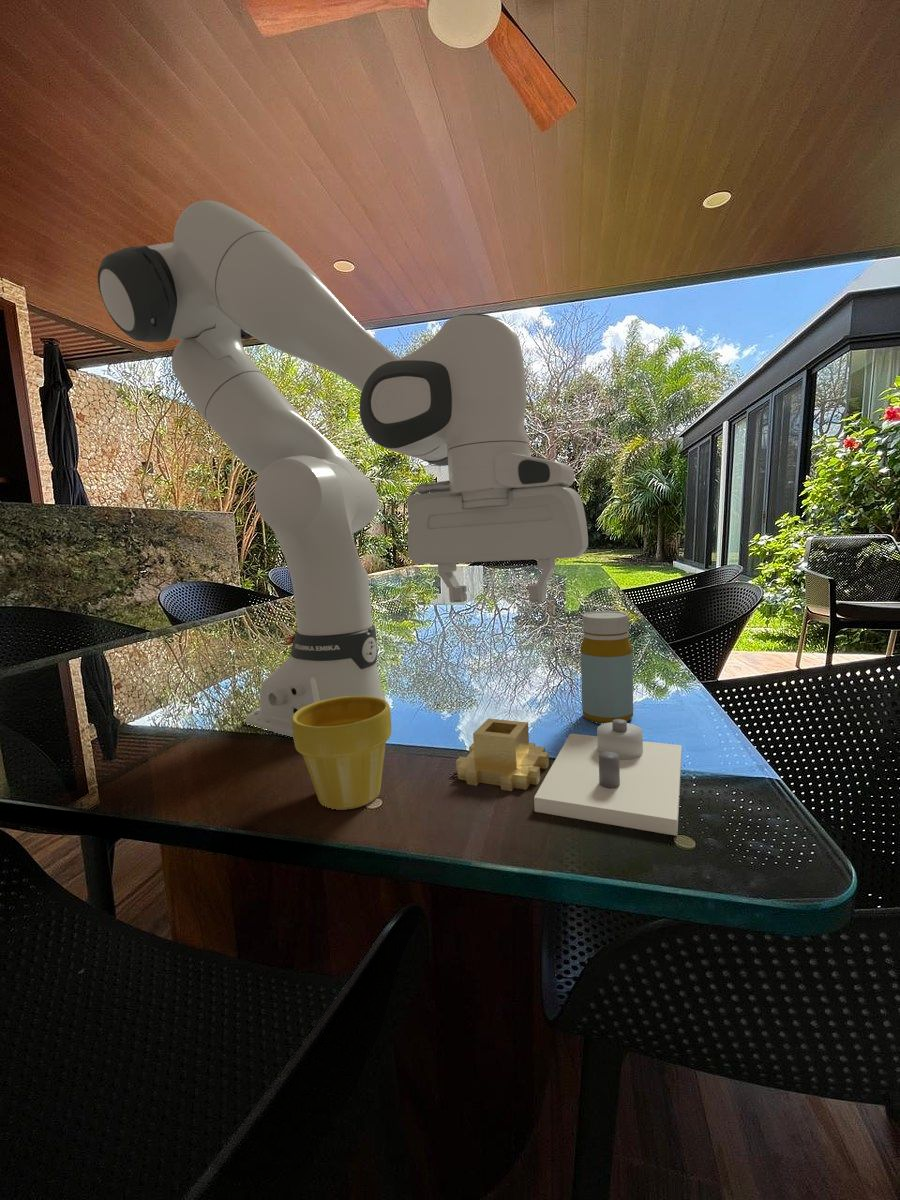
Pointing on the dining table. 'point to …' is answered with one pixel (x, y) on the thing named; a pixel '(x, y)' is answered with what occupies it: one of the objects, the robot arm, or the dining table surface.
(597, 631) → the bottle
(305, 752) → the plant pot
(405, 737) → the dining table surface
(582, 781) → the carrier plate
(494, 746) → the gear
